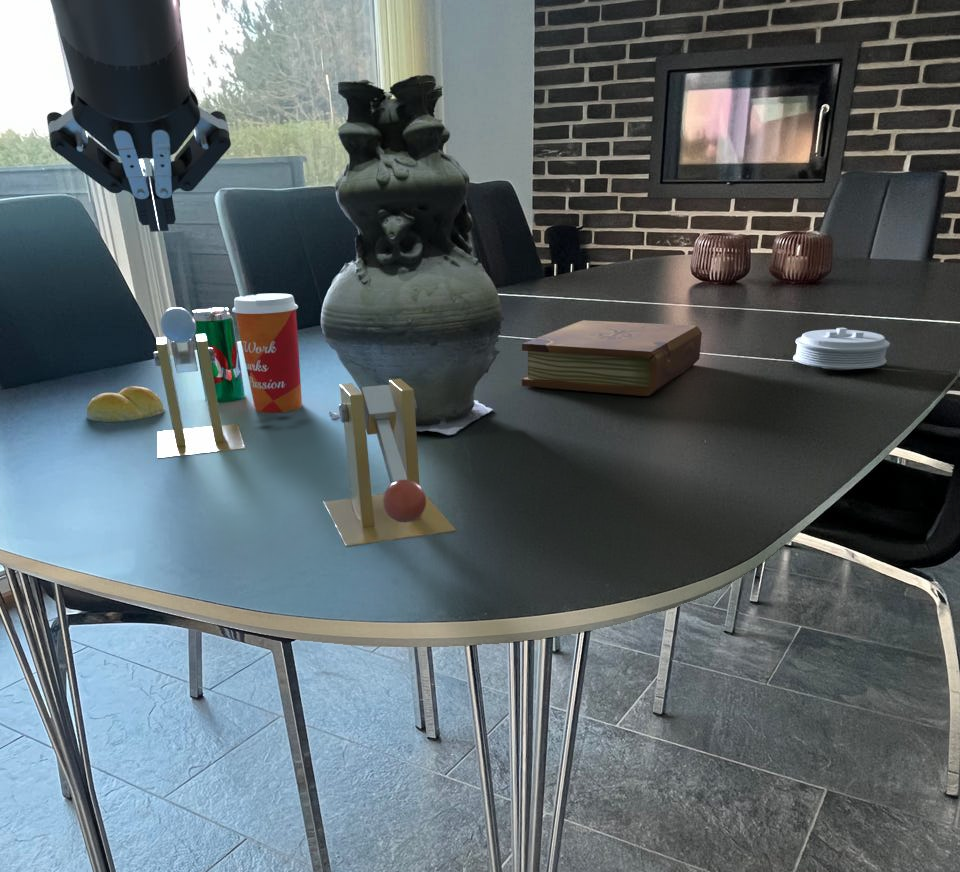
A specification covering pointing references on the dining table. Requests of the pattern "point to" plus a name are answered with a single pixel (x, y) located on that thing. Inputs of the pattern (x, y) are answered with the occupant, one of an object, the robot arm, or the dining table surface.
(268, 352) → the paper cup
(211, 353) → the hanging ball swing frame
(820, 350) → the lid
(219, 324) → the soda can
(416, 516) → the lever
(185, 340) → the lever
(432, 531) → the swinging ball frame
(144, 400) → the bread roll
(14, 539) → the dining table surface
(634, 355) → the diary
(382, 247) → the decorative urn
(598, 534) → the dining table surface
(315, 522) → the dining table surface
